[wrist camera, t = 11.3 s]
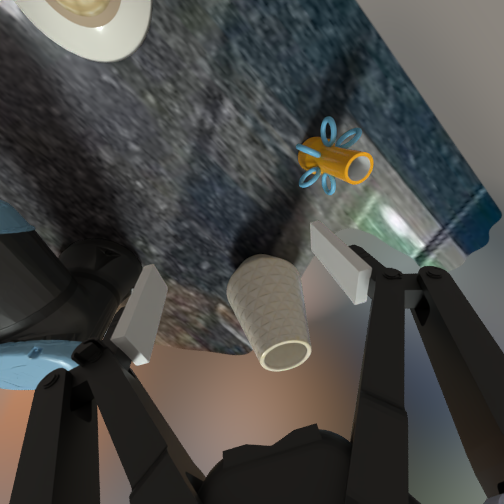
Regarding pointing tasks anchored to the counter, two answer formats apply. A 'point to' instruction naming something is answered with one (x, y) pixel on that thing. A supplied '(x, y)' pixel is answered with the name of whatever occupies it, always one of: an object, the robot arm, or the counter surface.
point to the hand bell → (84, 6)
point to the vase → (271, 310)
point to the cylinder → (333, 158)
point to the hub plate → (93, 27)
